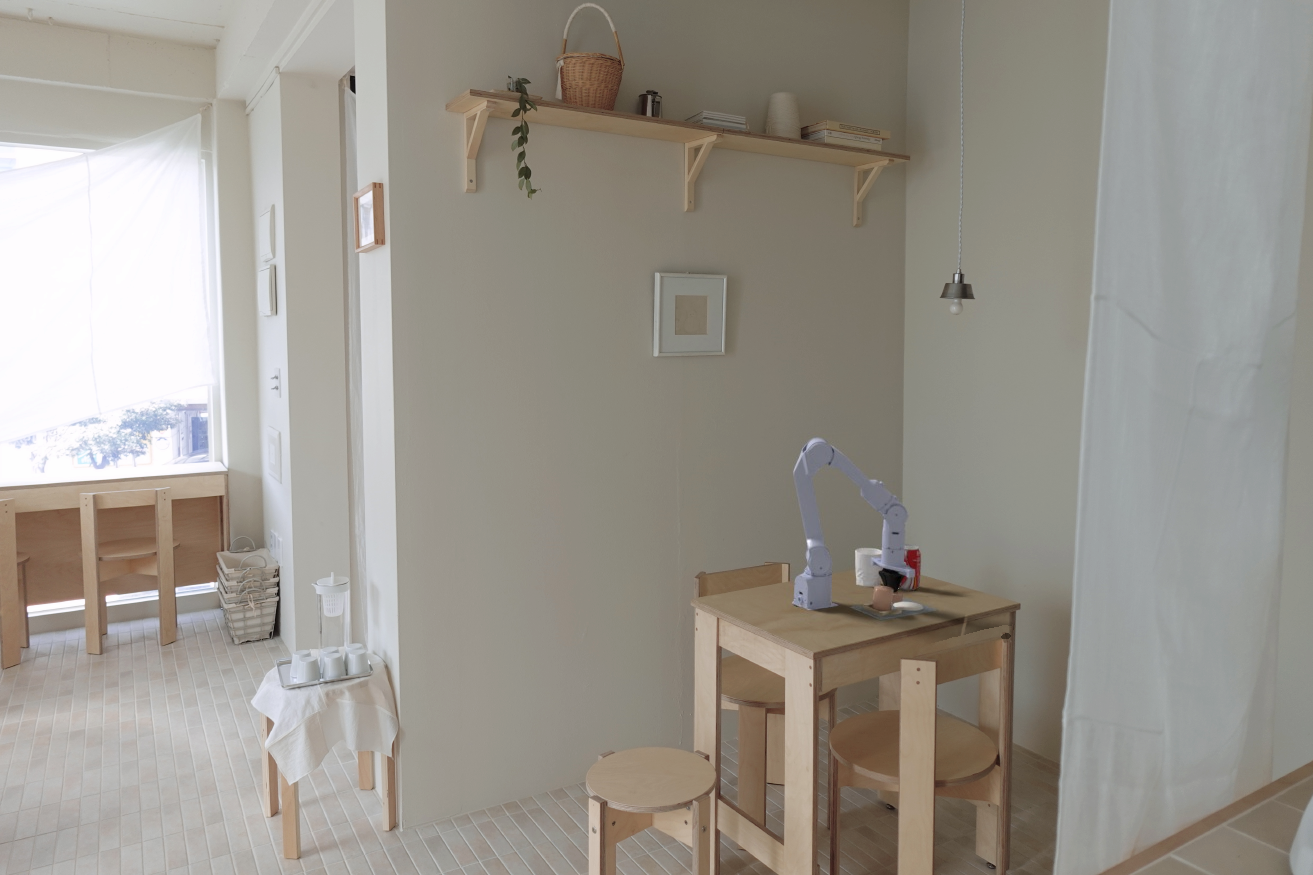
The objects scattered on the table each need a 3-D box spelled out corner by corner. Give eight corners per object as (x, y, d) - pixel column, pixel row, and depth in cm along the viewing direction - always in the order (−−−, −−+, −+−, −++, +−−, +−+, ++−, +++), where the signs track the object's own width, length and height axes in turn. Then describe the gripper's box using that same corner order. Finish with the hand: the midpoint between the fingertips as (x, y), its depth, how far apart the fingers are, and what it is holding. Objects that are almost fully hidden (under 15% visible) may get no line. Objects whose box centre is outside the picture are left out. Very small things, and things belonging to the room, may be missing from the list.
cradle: (880, 616, 226) (880, 612, 226) (860, 608, 232) (860, 604, 232) (901, 613, 229) (901, 609, 229) (881, 604, 236) (881, 601, 235)
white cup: (875, 590, 251) (876, 555, 250) (849, 585, 255) (850, 551, 254) (886, 584, 257) (888, 550, 256) (861, 579, 262) (862, 546, 261)
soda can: (888, 586, 256) (890, 544, 254) (908, 583, 258) (910, 542, 257) (904, 592, 249) (906, 550, 248) (924, 590, 252) (926, 548, 251)
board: (881, 622, 223) (881, 620, 223) (849, 609, 234) (849, 606, 234) (937, 612, 232) (937, 610, 232) (905, 599, 242) (905, 597, 242)
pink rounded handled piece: (882, 615, 227) (884, 592, 226) (868, 609, 231) (870, 586, 230) (906, 610, 232) (908, 587, 231) (892, 604, 236) (894, 582, 235)
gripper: (924, 551, 228) (922, 603, 230) (885, 539, 241) (883, 588, 243) (903, 554, 225) (901, 606, 227) (865, 542, 238) (863, 592, 239)
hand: (891, 597), depth 234 cm, fingers closed
